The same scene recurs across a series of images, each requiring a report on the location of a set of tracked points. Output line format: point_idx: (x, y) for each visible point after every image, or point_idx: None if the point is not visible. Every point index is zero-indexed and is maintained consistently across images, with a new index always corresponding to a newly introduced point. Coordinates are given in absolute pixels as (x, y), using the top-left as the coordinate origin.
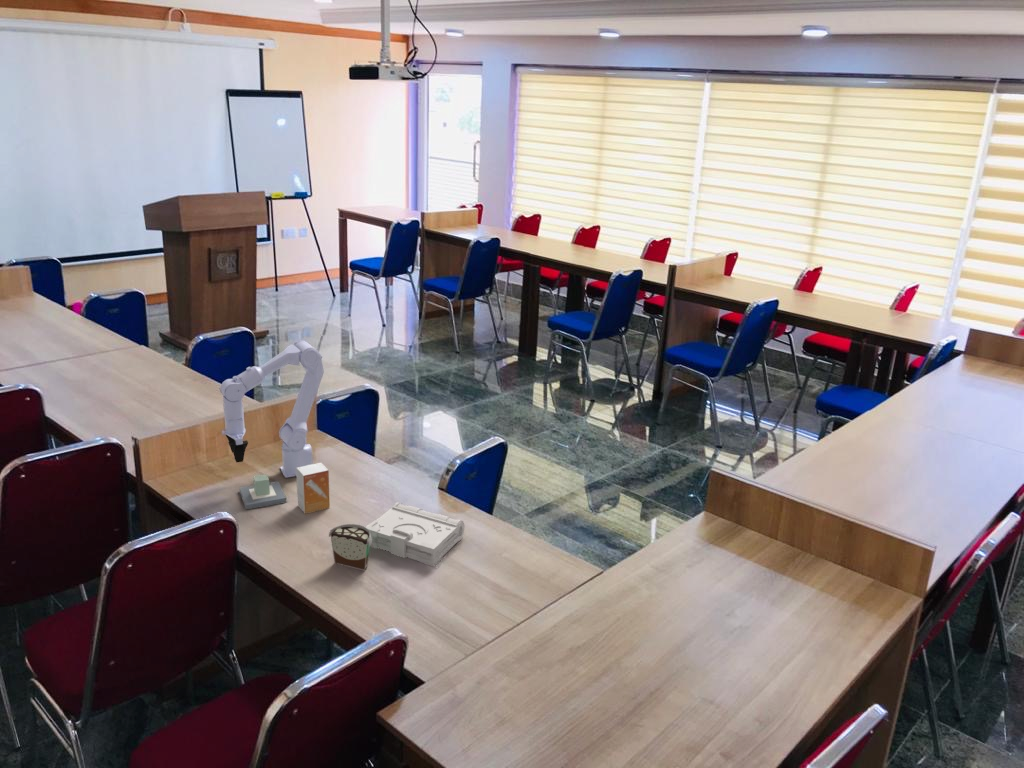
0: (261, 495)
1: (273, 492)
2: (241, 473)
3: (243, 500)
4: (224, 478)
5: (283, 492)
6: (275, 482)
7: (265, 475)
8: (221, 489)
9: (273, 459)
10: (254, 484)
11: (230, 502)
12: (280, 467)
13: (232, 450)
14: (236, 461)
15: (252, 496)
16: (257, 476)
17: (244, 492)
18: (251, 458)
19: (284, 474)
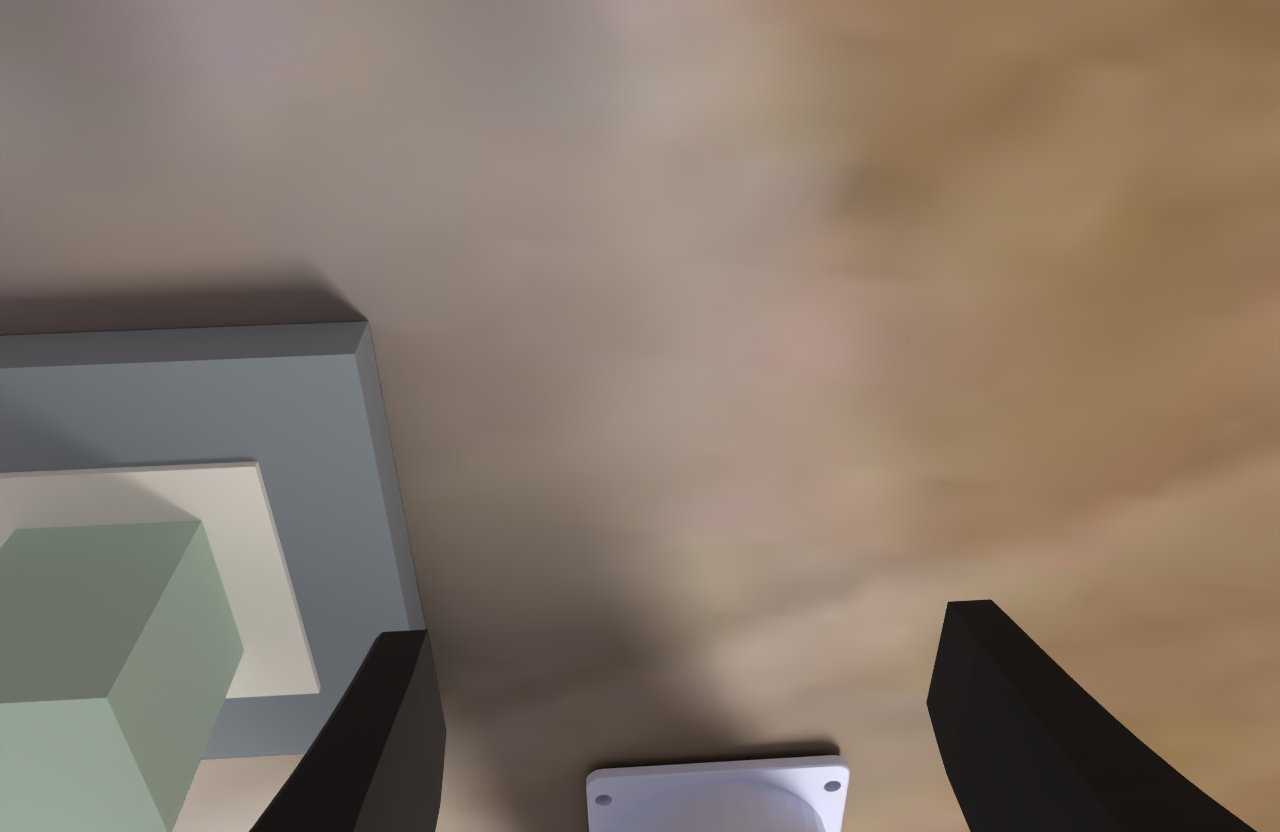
0: None
1: None
2: (932, 401)
3: (17, 346)
4: (895, 171)
5: None
6: None
7: (112, 825)
8: (529, 79)
9: None
10: (79, 612)
11: (34, 160)
12: (826, 766)
13: (966, 647)
14: (369, 655)
15: (5, 484)
16: (85, 743)
17: (174, 401)
18: (1274, 543)
19: (641, 780)
